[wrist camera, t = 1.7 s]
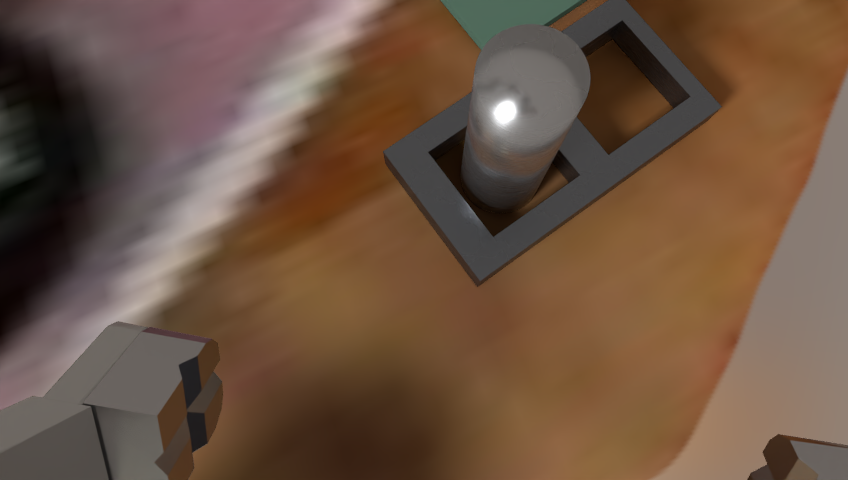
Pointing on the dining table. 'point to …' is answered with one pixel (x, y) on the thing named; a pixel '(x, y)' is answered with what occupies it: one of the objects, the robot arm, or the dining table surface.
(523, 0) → the mat
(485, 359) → the dining table surface
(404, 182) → the grey double frame
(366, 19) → the dining table surface
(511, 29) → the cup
